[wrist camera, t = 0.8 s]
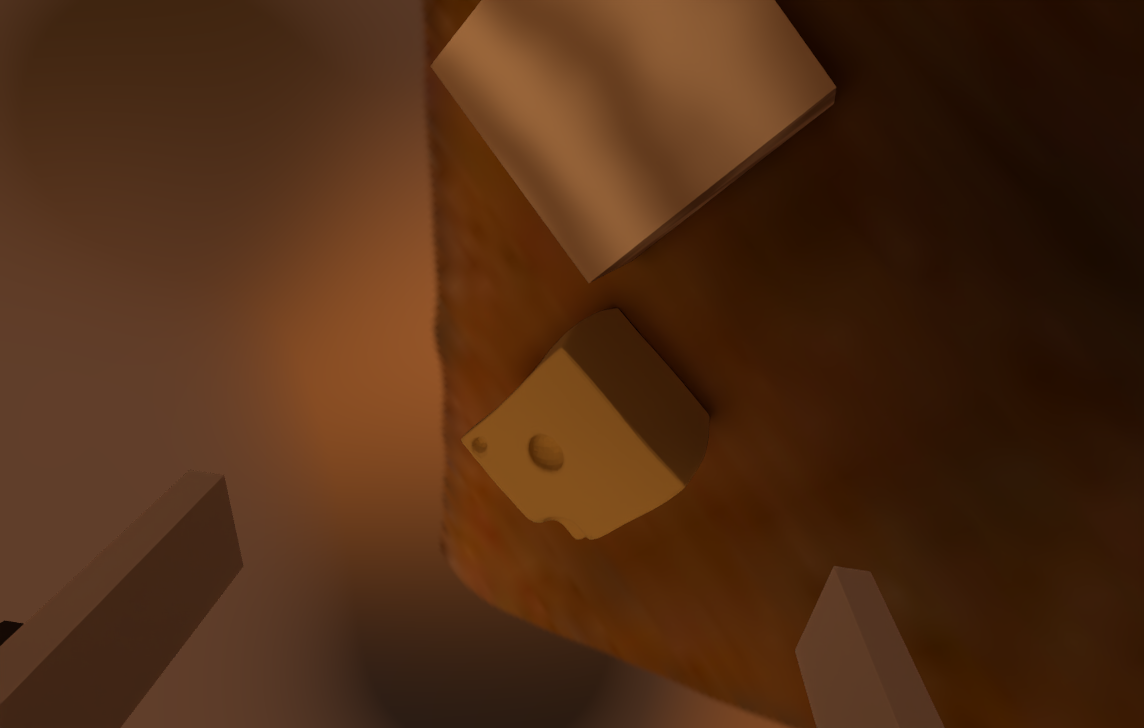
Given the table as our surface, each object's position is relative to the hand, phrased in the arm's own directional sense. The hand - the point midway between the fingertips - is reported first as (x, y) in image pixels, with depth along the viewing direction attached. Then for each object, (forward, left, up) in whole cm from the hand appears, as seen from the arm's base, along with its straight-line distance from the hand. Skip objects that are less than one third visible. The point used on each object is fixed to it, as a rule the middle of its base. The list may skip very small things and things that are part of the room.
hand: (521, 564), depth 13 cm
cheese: (+10, +2, -27) cm, 29 cm away
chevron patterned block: (-4, -12, -27) cm, 30 cm away
